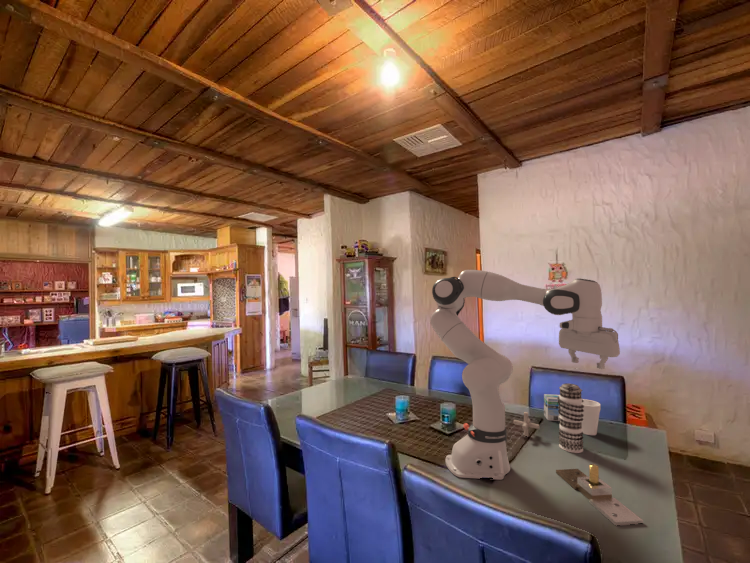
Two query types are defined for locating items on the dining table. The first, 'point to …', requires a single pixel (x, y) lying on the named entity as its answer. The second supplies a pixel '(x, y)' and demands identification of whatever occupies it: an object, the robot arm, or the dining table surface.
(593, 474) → the brass pin
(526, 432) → the pipe connector
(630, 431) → the dining table surface
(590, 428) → the foam cup
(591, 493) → the hinge
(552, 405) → the light bulb box
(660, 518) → the dining table surface
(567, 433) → the decorative candle
